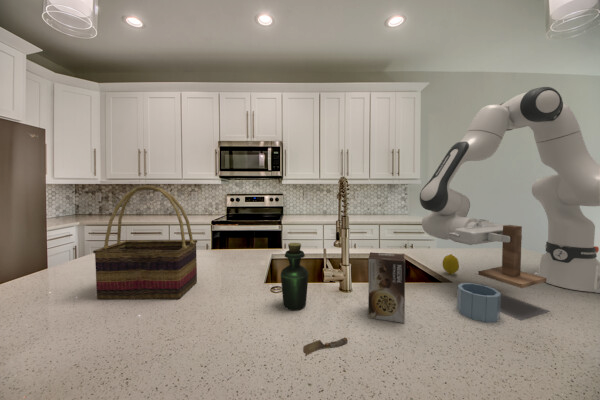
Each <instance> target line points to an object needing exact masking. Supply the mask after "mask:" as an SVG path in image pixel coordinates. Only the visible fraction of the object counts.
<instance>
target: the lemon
mask: <svg viewBox="0 0 600 400" xmlns="http://www.w3.org/2000/svg"><path fill="white" fill-rule="evenodd" d="M442 268H443V270H444V271H445V272H446V273H448V274H449V275H452V274H455V273H457V272H458V271H459V268H460V261H459V260H458V258H457V257H456V256H455V255H454V254H449V255H446V256H444V257H443V259H442Z"/></svg>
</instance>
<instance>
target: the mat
mask: <svg viewBox="0 0 600 400" xmlns="http://www.w3.org/2000/svg"><path fill="white" fill-rule="evenodd" d="M550 312H551V311H550V310H547V309H545V308H543V307H540V306H536V305H533V304H531V303H529V302H525V301H522V300H520V299H517V298H513V297H511V296H508V295H505V294H502V293H501V302H500V313H502V314H504V315H507V316H508V317H511V318H514V319H516V320H518V321H524V320H527V319H530V318H533V317H536V316H540V315H543V314H547V313H550Z"/></svg>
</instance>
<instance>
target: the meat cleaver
mask: <svg viewBox="0 0 600 400" xmlns="http://www.w3.org/2000/svg"><path fill="white" fill-rule="evenodd" d="M346 344H348V338H347V337H342V338H340V339H338V340H335V341H331V342H326V343H323V342H322V341H321V340H320V339H318V340H315V341H313V342H310V343H308V344H305V345H304V346H303V349H302V352H303V353H304V357H305V358H306V357H307V356H309V355H310V354H312V353H315V352H317V351H320V350H325V349H332V348H338V347H341V346H344V345H346Z"/></svg>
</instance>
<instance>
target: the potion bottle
mask: <svg viewBox="0 0 600 400" xmlns="http://www.w3.org/2000/svg"><path fill="white" fill-rule="evenodd" d="M287 247H288V250H286V251H285V253H284V257H285V258H286V259H287V261H288V263H289V265H287V266H286V267H284V268H283V269H282V270H281V272H280V282H281V292H282V293H281V294H282V305H283V306H284V308H285V309H287V310H290V311H299V310H302V309H304V308H305V307H306V306H307V296H308V295H307V294H308V283H309V274H310V273H309V271H308V269H307V268H306V267H304V266H302V265H301V261H302V259H303V258H305V256H306V255H305V251H303V250H301V247H302V243H301V242H290V243H288V244H287Z"/></svg>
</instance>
